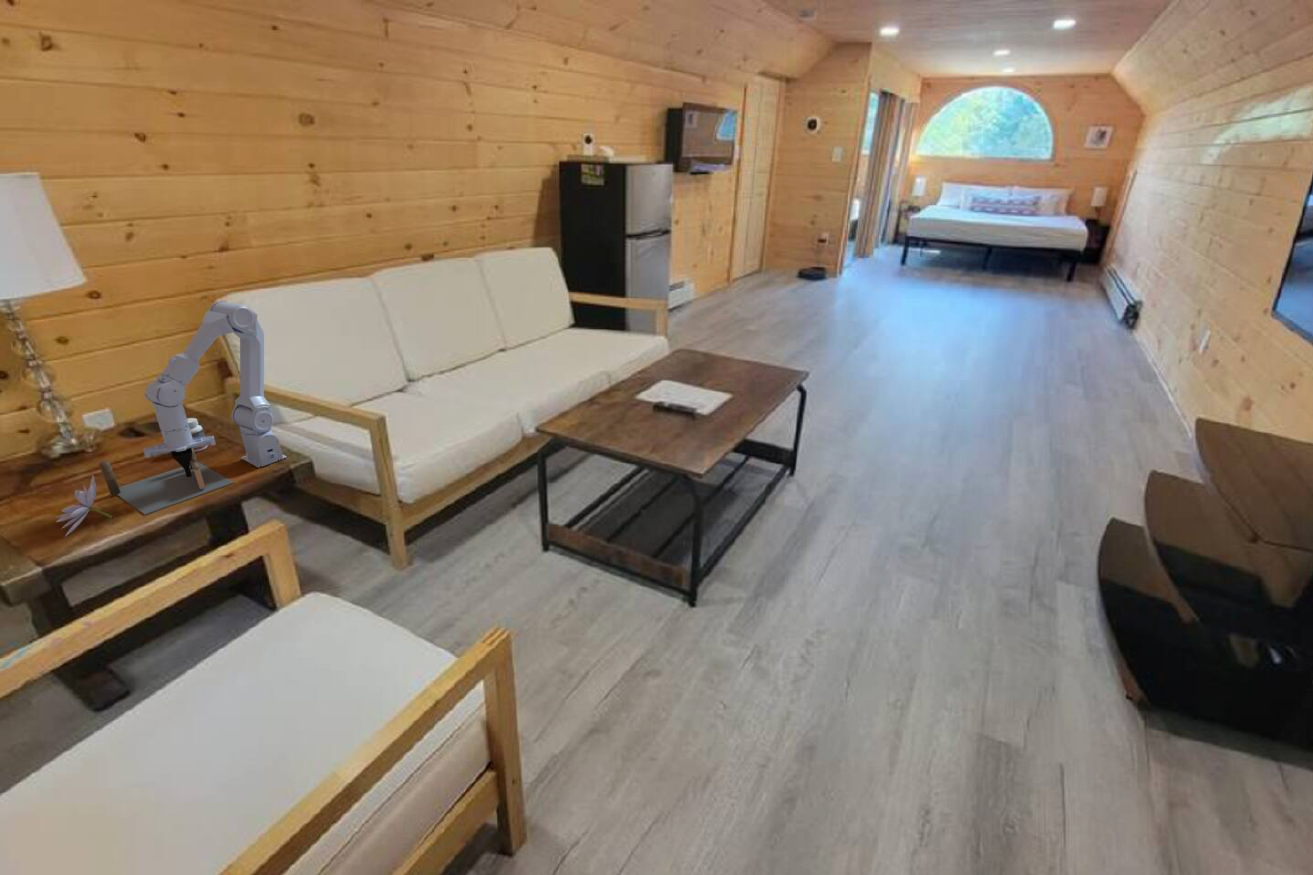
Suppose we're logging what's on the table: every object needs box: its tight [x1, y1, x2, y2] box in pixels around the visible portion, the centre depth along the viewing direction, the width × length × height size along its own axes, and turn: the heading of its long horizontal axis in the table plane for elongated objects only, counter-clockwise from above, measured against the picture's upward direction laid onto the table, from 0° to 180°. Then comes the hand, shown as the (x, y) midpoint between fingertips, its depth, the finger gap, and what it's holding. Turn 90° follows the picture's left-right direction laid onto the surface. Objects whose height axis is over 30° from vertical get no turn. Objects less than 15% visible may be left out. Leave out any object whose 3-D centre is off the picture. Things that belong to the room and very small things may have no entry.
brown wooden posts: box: [98, 448, 199, 497], centre depth 164 cm, size 2×20×9 cm, turn 147°
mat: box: [117, 461, 235, 516], centre depth 164 cm, size 20×20×1 cm
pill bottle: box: [187, 417, 208, 453], centre depth 182 cm, size 5×5×9 cm
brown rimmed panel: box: [191, 449, 205, 489], centre depth 165 cm, size 14×1×7 cm, turn 40°
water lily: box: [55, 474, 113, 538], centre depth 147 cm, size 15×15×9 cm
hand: (189, 475), depth 163 cm, fingers closed
